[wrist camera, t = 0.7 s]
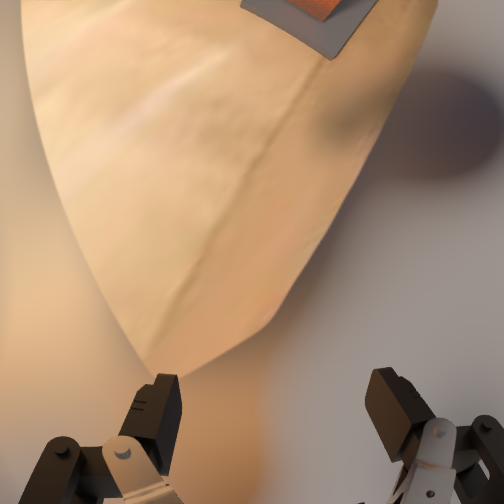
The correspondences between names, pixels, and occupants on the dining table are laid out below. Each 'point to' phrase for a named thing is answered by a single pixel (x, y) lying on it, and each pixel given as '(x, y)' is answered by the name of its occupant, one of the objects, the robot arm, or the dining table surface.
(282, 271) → the dining table surface
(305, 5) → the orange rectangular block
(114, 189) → the dining table surface
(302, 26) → the peg hole fixture
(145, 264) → the dining table surface
